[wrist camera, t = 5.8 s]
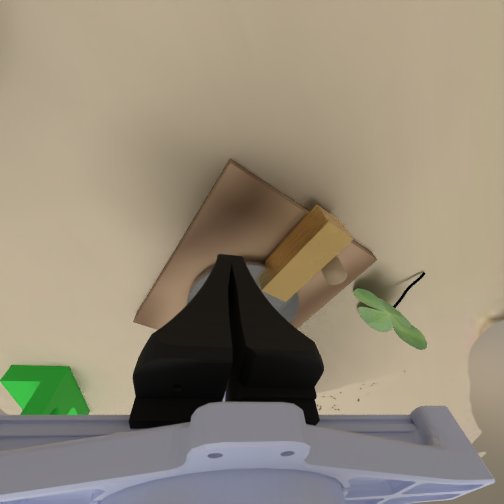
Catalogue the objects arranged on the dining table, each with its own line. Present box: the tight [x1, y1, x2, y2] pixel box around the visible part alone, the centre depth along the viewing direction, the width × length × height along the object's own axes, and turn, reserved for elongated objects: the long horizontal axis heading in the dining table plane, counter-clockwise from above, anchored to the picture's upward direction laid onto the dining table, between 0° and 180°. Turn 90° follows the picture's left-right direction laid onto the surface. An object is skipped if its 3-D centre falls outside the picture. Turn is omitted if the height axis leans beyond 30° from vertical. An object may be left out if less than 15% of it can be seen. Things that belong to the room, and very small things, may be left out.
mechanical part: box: [0, 365, 89, 415], centre depth 29 cm, size 12×6×8 cm, turn 170°
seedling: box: [353, 272, 427, 350], centre depth 24 cm, size 7×8×7 cm
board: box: [133, 159, 377, 330], centre depth 22 cm, size 15×18×4 cm
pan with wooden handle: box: [186, 204, 353, 324], centre depth 20 cm, size 16×10×3 cm, turn 144°
